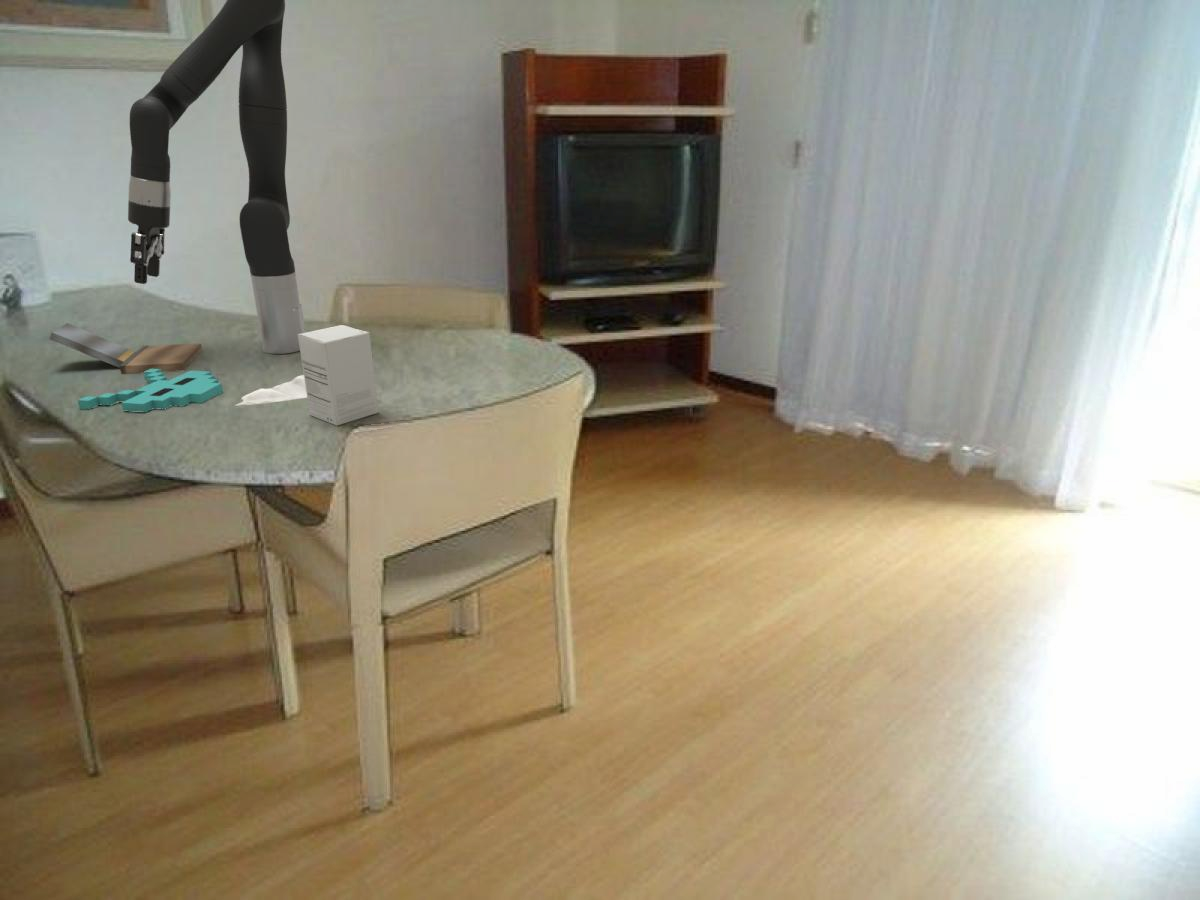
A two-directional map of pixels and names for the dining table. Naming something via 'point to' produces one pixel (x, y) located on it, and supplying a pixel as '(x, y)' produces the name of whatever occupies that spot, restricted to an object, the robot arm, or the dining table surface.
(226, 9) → the robot arm
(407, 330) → the dining table surface
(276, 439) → the dining table surface
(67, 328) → the grey flat plate
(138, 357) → the laid floor board
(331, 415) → the supplement box
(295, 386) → the cloth
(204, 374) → the alien figure
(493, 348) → the dining table surface
